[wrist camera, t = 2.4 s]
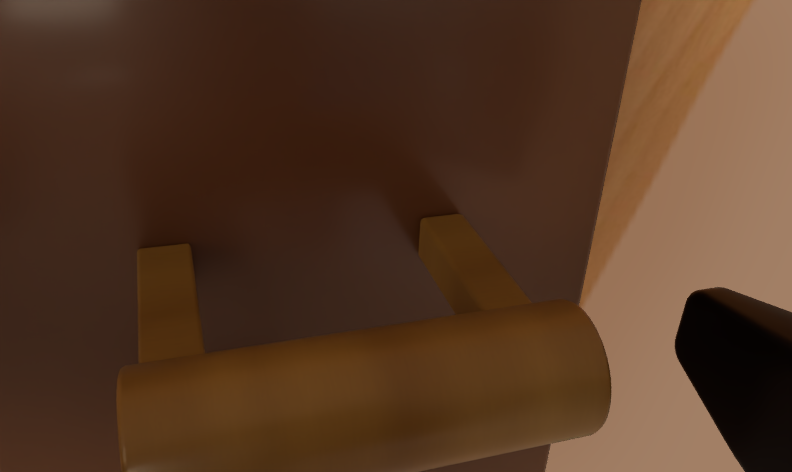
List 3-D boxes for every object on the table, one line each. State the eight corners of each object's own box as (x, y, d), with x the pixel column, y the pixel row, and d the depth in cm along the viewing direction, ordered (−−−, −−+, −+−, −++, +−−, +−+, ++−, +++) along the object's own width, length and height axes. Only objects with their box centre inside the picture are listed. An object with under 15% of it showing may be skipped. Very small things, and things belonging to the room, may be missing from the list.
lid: (-178, -155, 8) (-533, -95, 4) (636, -132, 10) (966, -83, 6) (63, 629, 14) (37, 956, 10) (515, 519, 17) (635, 745, 13)
